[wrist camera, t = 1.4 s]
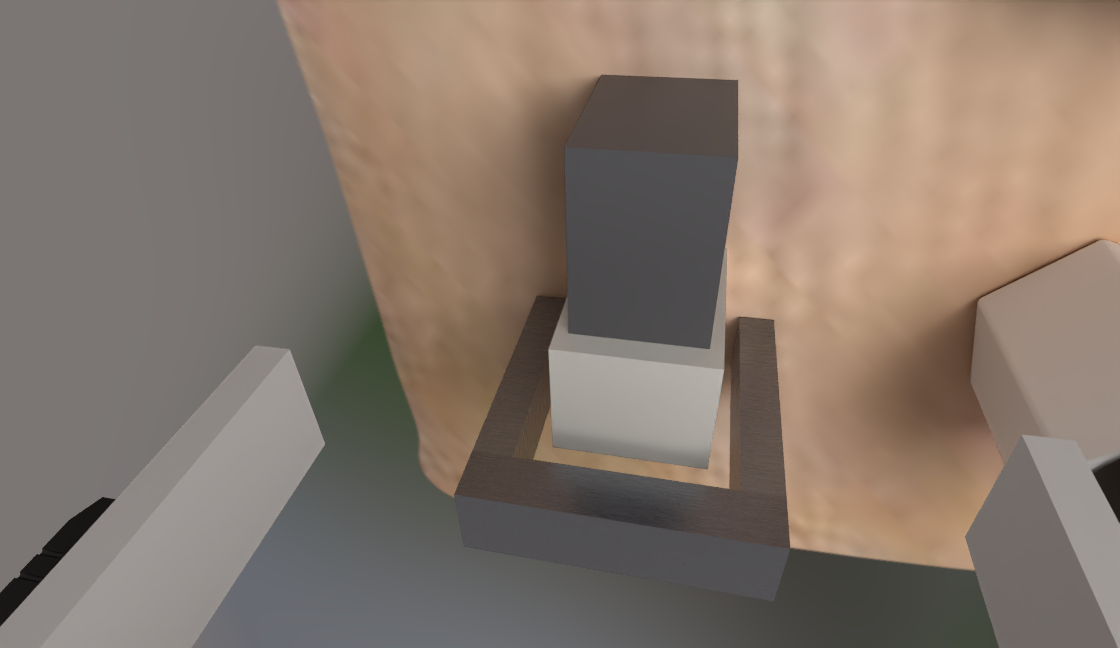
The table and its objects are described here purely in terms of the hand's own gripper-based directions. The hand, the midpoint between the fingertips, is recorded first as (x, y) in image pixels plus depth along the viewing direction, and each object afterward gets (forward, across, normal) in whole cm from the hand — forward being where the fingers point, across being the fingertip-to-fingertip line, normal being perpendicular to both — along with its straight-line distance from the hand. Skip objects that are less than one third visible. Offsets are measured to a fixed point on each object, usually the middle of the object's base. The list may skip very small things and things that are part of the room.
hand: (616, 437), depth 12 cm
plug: (+17, -1, -5) cm, 17 cm away
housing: (+16, -1, -10) cm, 20 cm away
